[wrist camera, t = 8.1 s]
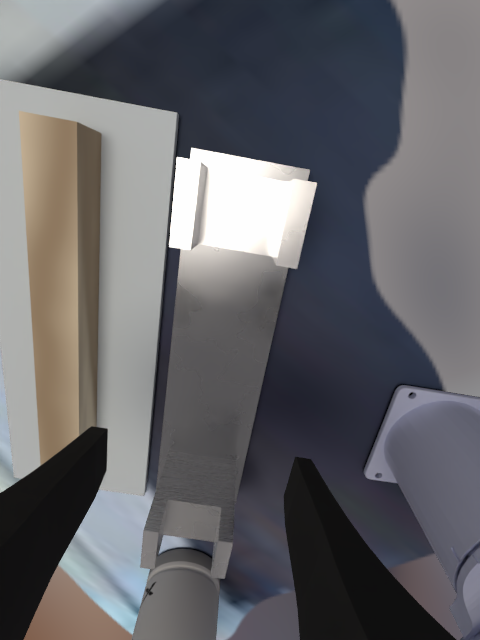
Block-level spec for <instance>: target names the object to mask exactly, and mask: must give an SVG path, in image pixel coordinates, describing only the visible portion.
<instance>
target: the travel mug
mask: <svg viewBox="0 0 480 640" xmlns="http://www.w3.org/2000/svg"><path fill="white" fill-rule="evenodd" d="M211 568H212V558H210V557H209V556H207V555H206V554H204V553H202V552H199V551H196V550H192V549H174V550H170V551H167V552H165V553H163V554H161V555H159V556H158V557H157V561H156V565H155V569H150V572H149V576H148V580H147V584H146V587H145V591H144V595H143V598H142V602H141V606H140V610H139V614H138V617H137V621H136V625H135V629H134V633H133V636H132V640H216V632H217V618H218V604H219V590H220V578H214V577H211Z"/></svg>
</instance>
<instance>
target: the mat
mask: <svg viewBox="0 0 480 640" xmlns="http://www.w3.org/2000/svg"><path fill="white" fill-rule="evenodd" d="M19 111H23V112H28V113H33V114H39V115H44V116H49V117H54V118H60V119H65V120H70V121H76V122H79V123H81V124H83V125H85V126H87V127H89V128H91V129H93V130H96V131H98V132H100V133H101V193H100V252H99V311H98V370H97V427H100V428H107V429H108V441H107V471H106V473H105V475H104V478H103V480H102V483H101V485H100V488H99V490H105V491H112V492H119V493H126V494H133V495H140V496H144V495H145V492H146V486H147V475H148V463H149V452H150V440H151V429H152V418H153V406H154V395H155V384H156V372H157V361H158V349H159V338H160V327H161V315H162V304H163V293H164V281H165V270H166V258H167V247H168V236H169V224H170V213H171V202H172V190H173V179H174V168H175V156H176V145H177V133H178V122H179V115H178V113H175V112H170V111H165V110H159V109H154V108H149V107H144V106H138V105H133V104H128V103H123V102H117V101H112V100H107V99H101V98H96V97H91V96H86V95H80V94H75V93H70V92H65V91H59V90H54V89H49V88H43V87H38V86H33V85H28V84H22V83H17V82H12V81H7V80H1V79H0V346H1V356H2V366H3V375H4V385H5V394H6V404H7V414H8V423H9V433H10V443H11V452H12V462H13V471H14V478H21V479H22V478H24V477H25V476H27V475H28V474H30V473H31V472H32V471H34V470H35V469H37V468H38V467H39V466H41V464H40V448H39V431H38V415H37V399H36V383H35V366H34V350H33V334H32V318H31V301H30V285H29V269H28V253H27V236H26V220H25V204H24V187H23V171H22V155H21V139H20V122H19Z"/></svg>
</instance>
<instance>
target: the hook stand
mask: <svg viewBox="0 0 480 640" xmlns="http://www.w3.org/2000/svg"><path fill="white" fill-rule="evenodd" d="M309 173H310V170H308V169H302V168H297V167H292V166H286V165H281V164H275V163H270V162H265V161H259V160H254V159H249V158H243V157H238V156H232V155H227V154H222V153H216V152H211V151H206V150H200V149H195V148H191V155H190V159H185V158H180V157H177V164H176V175H175V186H174V197H173V208H172V219H171V231H170V242H169V247H173V248H179V249H181V253H180V263H179V272H178V282H177V292H176V301H175V311H174V321H173V331H172V340H171V350H170V360H169V370H168V379H167V389H166V399H165V409H164V418H163V428H162V438H161V448H160V457H159V467H158V477H157V487H156V493H155V496H154V499H153V502H152V506H151V509H150V512H149V515H148V518H147V521H146V525H145V528H144V532H143V543H142V554H141V565H140V568H147V569H155V565H156V561H157V557H158V554H159V550H160V546H161V542H162V538H163V535H169V536H176V537H183V538H190V539H197V540H205V541H212V542H214V548H213V558H212V568H211V577H214V578H222V579H225V575H226V571H227V566H228V562H229V558H230V553H231V549H232V545H233V530H234V507H235V503H236V499H237V495H238V490H239V486H240V481H241V477H242V472H243V468H244V463H245V459H246V454H247V450H248V445H249V441H250V436H251V432H252V428H253V423H254V419H255V414H256V410H257V405H258V401H259V396H260V392H261V387H262V383H263V378H264V374H265V369H266V365H267V360H268V356H269V351H270V347H271V343H272V338H273V334H274V329H275V325H276V320H277V316H278V311H279V307H280V302H281V298H282V293H283V289H284V284H285V280H286V275H287V271H288V268H294V269H297V267H298V262H299V258H300V254H301V249H302V245H303V241H304V237H305V232H306V228H307V224H308V219H309V215H310V211H311V207H312V202H313V198H314V194H315V190H316V185H317V183H315V182H310V181H308V177H309Z"/></svg>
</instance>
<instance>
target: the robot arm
mask: <svg viewBox="0 0 480 640" xmlns="http://www.w3.org/2000/svg"><path fill="white" fill-rule="evenodd" d="M411 392H413V394H412V395H410V396H408V395H409V394H410V393H411ZM107 441H108V429H107V428H100V427H93V426H91V427H90V428H88V429H87V430H86V431H85V432H83V433H82V434H81V435H80V436H78V437H77V438H76V439H75V440H73V441H72V442H71V443H70V444H68V445H67V446H66V447H64V448H63V449H62V450H61V451H59V452H58V453H57V454H55V455H54V456H53V457H51V458H50V459H49V460H47V461H46V462H45V463H43V464H42V465H41V466H39V467H38V468H37V469H35V470H34V471H32V472H31V473H30V474H28V475H27V476H25V477H24V478H22V479H21V480H19V481H18V482H17V483H15V484H14V485H12V486H11V487H9V488H8V489H6V490H5V491H3V492H1V493H0V640H23V639H24V637H25V635H26V633H27V630H28V628H29V625H30V623H31V621H32V619H33V617H34V614H35V612H36V610H37V608H38V606H39V603H40V601H41V599H42V597H43V594H44V592H45V590H46V588H47V586H48V583H49V582H50V579H51V577H52V575H53V573H54V571H55V570H56V568H57V566H58V564H59V562H60V560H61V558H62V556H63V555H64V553H65V551H66V549H67V548H68V546H69V544H70V542H71V540H72V539H73V537H74V535H75V533H76V531H77V530H78V528H79V526H80V524H81V522H82V521H83V519H84V517H85V515H86V513H87V512H88V510H89V508H90V506H91V504H92V503H93V501H94V499H95V497H96V494H97V492H98V490H99V488H100V485H101V483H102V480H103V478H104V475H105V473H106V471H107ZM377 473H378V474H377ZM364 474H365V476H366V478H368V479H372V480H379V481H385V482H392V483H398V485H399V487H400V488H401V490H402V492H403V494H404V496H405V498H406V500H407V502H408V503H409V505H410V507H411V509H412V511H413V513H414V515H415V517H416V518H417V520H418V522H419V524H420V526H421V528H422V530H423V532H424V533H425V535H426V537H427V539H428V541H429V543H430V545H431V547H432V548H433V550H434V552H435V554H436V556H437V558H438V560H439V561H440V563H441V565H442V567H443V569H444V571H445V573H446V575H447V576H448V578H449V580H450V582H451V584H452V586H453V588H454V590H455V591H456V593H457V597H456V599H455V601H454V603H453V604H452V605H451V606H450V610H451V612H452V614H453V617H454V618H455V620H456V623H457V625H458V627H459V629H460V631H461V633H462V634H463V637H462V638H461V639H460V640H480V397H475V396H469V395H463V394H457V393H451V392H445V391H438V390H432V389H426V388H420V387H414V386H407V385H401V386H399V387H398V388H397V389H396V390H395V393H394V395H393V398H392V400H391V403H390V405H389V408H388V410H387V413H386V415H385V418H384V420H383V423H382V425H381V428H380V430H379V433H378V436H377V438H376V441H375V443H374V446H373V448H372V451H371V453H370V456H369V458H368V461H367V463H366V466H365V468H364ZM284 513H285V527H286V534H287V541H288V547H289V554H290V560H291V566H292V573H293V579H294V586H295V592H296V600H297V607H298V619H299V633H300V640H456V639H455V638H454V637H453V636H452V635H451V634H450V633H448V632H447V631H446V630H445V629H444V628H443V627H442V626H441V625H440V624H439V623H438V622H437V621H436V620H435V619H434V618H433V617H432V616H431V615H430V614H429V613H428V612H427V611H426V610H425V609H424V608H423V607H422V606H421V605H420V604H419V603H418V602H417V601H416V600H415V599H414V598H413V597H412V596H411V595H410V594H409V593H408V592H407V590H406V589H405V588H404V587H403V586H402V585H401V584H400V583H399V582H398V581H397V580H396V579H395V578H394V577H393V575H392V574H391V573H390V572H389V571H388V570H387V568H386V567H385V566H384V565H383V564H382V562H381V561H380V560H379V559H378V558H377V556H376V555H375V554H374V553H373V552H372V550H371V549H370V548H369V547H368V545H367V544H366V543H365V541H364V540H363V539H362V537H361V536H360V535H359V533H358V532H357V530H356V529H355V528H354V526H353V525H352V524H351V522H350V521H349V519H348V518H347V516H346V515H345V513H344V512H343V510H342V509H341V507H340V506H339V504H338V503H337V501H336V500H335V498H334V496H333V495H332V493H331V492H330V490H329V488H328V487H327V485H326V483H325V482H324V480H323V478H322V477H321V475H320V473H319V472H318V470H317V468H316V467H315V465H314V463H313V462H312V460H311V459H306V458H299V457H295V460H294V463H293V467H292V470H291V473H290V477H289V480H288V484H287V487H286V490H285V494H284Z"/></svg>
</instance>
